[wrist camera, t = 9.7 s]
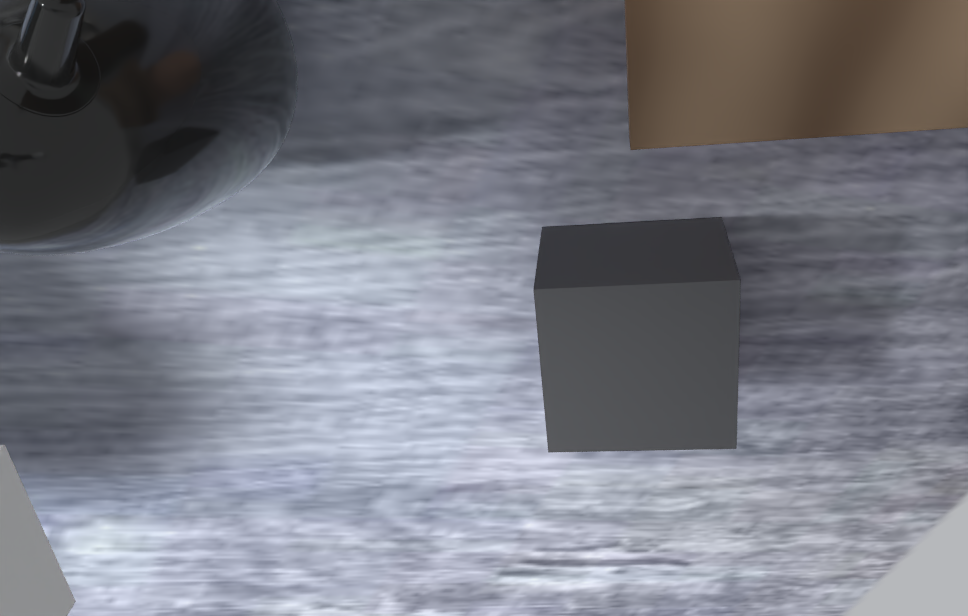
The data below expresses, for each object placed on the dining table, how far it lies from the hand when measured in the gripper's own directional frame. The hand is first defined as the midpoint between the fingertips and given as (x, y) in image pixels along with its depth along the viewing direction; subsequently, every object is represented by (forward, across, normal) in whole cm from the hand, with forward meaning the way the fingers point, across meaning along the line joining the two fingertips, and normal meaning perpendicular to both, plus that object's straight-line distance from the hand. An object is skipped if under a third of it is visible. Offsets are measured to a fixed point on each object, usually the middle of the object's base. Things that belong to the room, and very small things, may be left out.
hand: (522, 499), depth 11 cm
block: (+25, +2, -10) cm, 27 cm away
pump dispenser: (+26, -13, +2) cm, 29 cm away
